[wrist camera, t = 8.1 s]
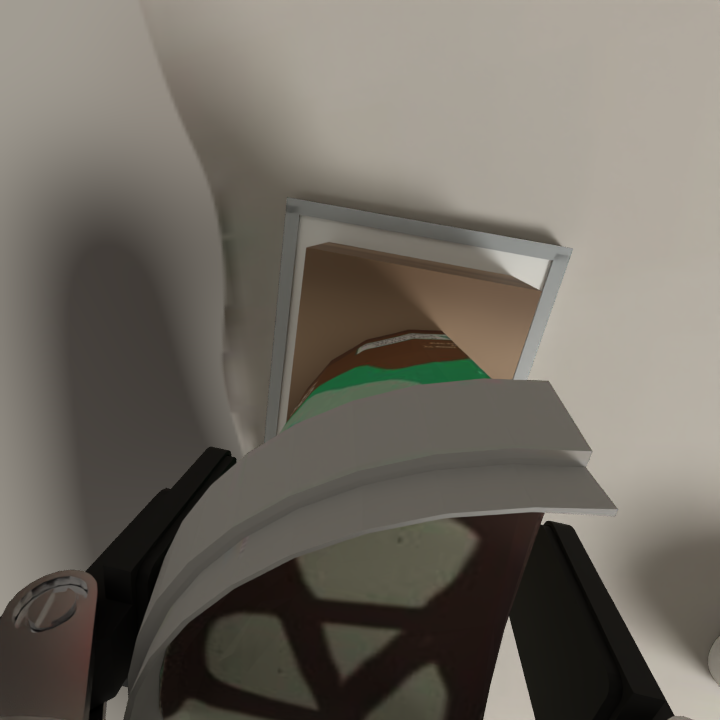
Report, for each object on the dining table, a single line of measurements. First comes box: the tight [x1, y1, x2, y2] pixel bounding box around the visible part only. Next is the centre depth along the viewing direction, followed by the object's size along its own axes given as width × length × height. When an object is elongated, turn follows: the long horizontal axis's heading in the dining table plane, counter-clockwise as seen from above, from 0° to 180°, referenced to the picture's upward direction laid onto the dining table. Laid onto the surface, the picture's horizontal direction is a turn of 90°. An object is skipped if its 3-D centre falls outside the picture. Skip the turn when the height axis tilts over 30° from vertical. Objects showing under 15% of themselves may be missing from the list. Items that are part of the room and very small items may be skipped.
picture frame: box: [264, 197, 573, 443], centre depth 19 cm, size 16×12×1 cm
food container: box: [124, 330, 618, 720], centre depth 10 cm, size 12×6×10 cm, turn 174°
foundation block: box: [286, 242, 542, 422], centre depth 17 cm, size 13×8×4 cm, turn 170°
